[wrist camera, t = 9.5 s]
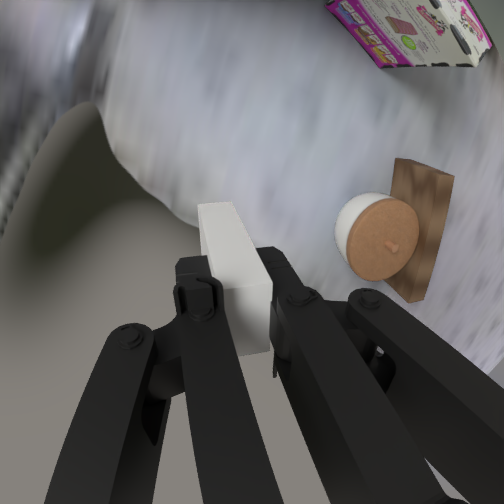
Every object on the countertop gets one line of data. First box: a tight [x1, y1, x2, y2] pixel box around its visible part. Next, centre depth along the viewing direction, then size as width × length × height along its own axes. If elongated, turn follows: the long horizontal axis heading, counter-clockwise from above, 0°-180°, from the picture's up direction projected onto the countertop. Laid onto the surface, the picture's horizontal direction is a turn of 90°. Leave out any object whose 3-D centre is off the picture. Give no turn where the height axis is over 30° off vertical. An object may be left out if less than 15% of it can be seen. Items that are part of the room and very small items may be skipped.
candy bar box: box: [325, 0, 492, 68], centre depth 24 cm, size 11×5×16 cm, turn 47°
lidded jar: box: [334, 192, 419, 281], centre depth 39 cm, size 11×11×9 cm
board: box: [384, 158, 454, 303], centre depth 41 cm, size 18×3×9 cm, turn 178°
